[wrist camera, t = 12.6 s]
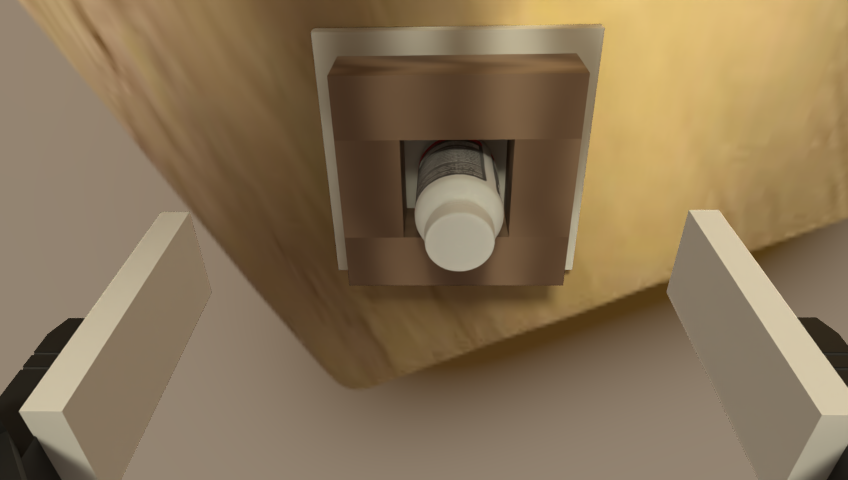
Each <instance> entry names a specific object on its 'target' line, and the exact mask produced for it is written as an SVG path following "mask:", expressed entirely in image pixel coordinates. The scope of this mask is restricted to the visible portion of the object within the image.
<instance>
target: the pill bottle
mask: <svg viewBox="0 0 848 480" xmlns="http://www.w3.org/2000/svg"><path fill="white" fill-rule="evenodd" d="M503 219H504V208H503V202H502V197H501V191H500V185H499V178H498V174H497V168H496V163H495V159H494V156H493V154H492V152H491V150H490V149H489V147H488V146H487V145H486V144H485V143H484V142H483V141H481V140H433V141H432V142H431V143H430V144H429V145H428V146H427V147H426V148H425V150H424V151H423V153H422V155H421V157H420V160H419V165H418V178H417V191H416V202H415V223H416V227H417V230H418V232H419V234H420V236H421V237H422V238H423V240H424V241H425V249H426V252H427V254H428V256H429V257H430V258H431V260H432V261H433V262H434V263H436V264H437V265H438V266H440V267H442V268H444V269H447V270H451V271H468V270H471V269H474V268H476V267H478V266H480V265H482V264H483V263H484V262H485V261H486V260H487V259H488V258H489V257H490V255H491V254H492V252H493V249H494V245H495V238H496V237H497V235H498V234H499V232H500V230H501V228H502V224H503Z"/></svg>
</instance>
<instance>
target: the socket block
mask: <svg viewBox="0 0 848 480" xmlns="http://www.w3.org/2000/svg"><path fill="white" fill-rule="evenodd" d="M604 30H605V28H604V27H603V26H602V25H601V24H579V25H511V26H442V27H374V28H314V29H313V30H312V31H311V39H312V47H313V56H314V64H315V73H316V81H317V90H318V98H319V107H320V115H321V124H322V132H323V140H324V149H325V157H326V166H327V174H328V183H329V191H330V200H331V208H332V217H333V225H334V234H335V242H336V251H337V259H338V268H339V270H348V275H349V285H563V281H564V273H565V270H572V266H573V258H574V251H575V244H576V236H577V229H578V221H579V214H580V207H581V199H582V192H583V185H584V177H585V170H586V162H587V155H588V148H589V140H590V133H591V126H592V118H593V111H594V104H595V96H596V89H597V81H598V74H599V67H600V59H601V52H602V45H603V37H604ZM433 140H481V141H483V142H484V143H485V144H486V145H487V146H488V147H489V149H490V150H491V152H492V154H493V156H494V159H495V163H496V168H497V174H498V178H499V185H500V191H501V197H502V202H503V208H504V219H503V224H502V228H501V230H500V232H499V234H498V235H497V237H496V238H495V245H494V249H493V252H492V254H491V255H490V257H489V258H488V259H487V260H486V261H485V262H484V263H483V264H482V265H480V266H478V267H476V268H474V269H471V270H468V271H451V270H447V269H444V268H442V267H440V266H438V265H437V264H436V263H434V262H433V261H432V260H431V258H430V257H429V256H428V254H427V252H426V249H425V241H424V240H423V238H422V237H421V236H420V234H419V232H418V230H417V227H416V223H415V202H416V191H417V178H418V165H419V160H420V157H421V155H422V153H423V151H424V150H425V148H426V147H427V146H428V145H429V144H430V143H431V142H432V141H433Z"/></svg>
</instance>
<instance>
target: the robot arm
mask: <svg viewBox="0 0 848 480" xmlns="http://www.w3.org/2000/svg"><path fill="white" fill-rule="evenodd" d="M211 293H212V291H211V288H210V284H209V281H208V277H207V273H206V270H205V266H204V263H203V259H202V255H201V252H200V248H199V245H198V241H197V237H196V233H195V230H194V226H193V223H192V219H191V215H190V212H161V213H160V214H159V215H158V217H157V218H156V220H155V221H154V222H153V224H152V225H151V227H150V228H149V229H148V231H147V232H146V234H145V235H144V236H143V238H142V239H141V241H140V242H139V243H138V245H137V246H136V248H135V249H134V250H133V252H132V253H131V255H130V256H129V257H128V259H127V260H126V262H125V263H124V264H123V266H122V267H121V269H120V270H119V271H118V273H117V274H116V276H115V277H114V278H113V280H112V281H111V283H110V284H109V285H108V287H107V288H106V290H105V291H104V292H103V294H102V295H101V297H100V298H99V300H98V301H97V302H96V304H95V305H94V306H93V308H92V309H91V311H90V312H89V314H88V315H87V316H86V318H68V319H67V320H66V321H64V322H63V323H62V324H60V325H59V326H58V327H56V328H55V329H54V330H52V331H51V332H50V333H49V334H47V336H46V337H45V339H44V340H43V341H42V342H41V344H40V345H39V346H38V348H37V349H36V350H35V351H34V355H32V356H31V357H30V358H29V359H28V361H27V362H26V363H25V364H24V366H23V370H20V371H19V372H18V374H17V375H16V376H15V378H14V379H13V380H12V381H11V383H10V384H9V385H8V387H7V388H6V389H5V391H4V392H3V393H2V395H1V396H0V480H121V479H122V477H123V475H124V473H125V471H126V469H127V467H128V464H129V463H130V460H131V458H132V456H133V454H134V452H135V450H136V448H137V446H138V444H139V442H140V440H141V438H142V436H143V434H144V432H145V429H146V427H147V425H148V423H149V421H150V419H151V417H152V415H153V413H154V411H155V409H156V407H157V405H158V402H159V400H160V398H161V396H162V394H163V392H164V390H165V388H166V386H167V384H168V382H169V380H170V378H171V375H172V374H173V371H174V369H175V367H176V365H177V363H178V361H179V359H180V357H181V355H182V353H183V351H184V349H185V347H186V344H187V342H188V340H189V338H190V336H191V334H192V332H193V330H194V328H195V326H196V324H197V322H198V320H199V317H200V316H201V313H202V311H203V309H204V307H205V305H206V303H207V301H208V299H209V297H210V295H211ZM667 294H668V296H669V298H670V300H671V302H672V304H673V306H674V308H675V310H676V312H677V314H678V316H679V319H680V321H681V323H682V325H683V327H684V329H685V331H686V333H687V335H688V337H689V339H690V341H691V343H692V345H693V347H694V349H695V351H696V354H697V355H698V358H699V359H700V361H701V364H702V366H703V368H704V370H705V372H706V374H707V376H708V378H709V380H710V382H711V384H712V386H713V388H714V390H715V392H716V394H717V397H718V399H719V401H720V403H721V405H722V407H723V409H724V411H725V413H726V415H727V417H728V419H729V421H730V423H731V425H732V427H733V429H734V431H735V433H736V435H737V437H738V440H739V441H740V444H741V446H742V448H743V450H744V452H745V454H746V456H747V458H748V460H749V462H750V464H751V466H752V468H753V470H754V472H755V474H756V477H757V478H758V480H848V345H847V344H846V343H845V341H844V340H843V339H842V338H841V336H840V335H839V334H838V333H837V332H835V331H834V330H833V329H831V328H830V327H829V326H827V325H826V324H824V323H823V322H822V321H820V320H819V319H818V318H797V317H796V316H795V314H794V313H793V312H792V310H791V309H790V308H789V306H788V305H787V303H786V302H785V301H784V299H783V298H782V296H781V295H780V294H779V292H778V291H777V290H776V288H775V287H774V285H773V284H772V283H771V281H770V280H769V279H768V277H767V276H766V275H765V273H764V272H763V270H762V269H761V267H760V266H759V265H758V263H757V262H756V261H755V259H754V258H753V257H752V255H751V254H750V252H749V251H748V250H747V248H746V247H745V245H744V244H743V243H742V241H741V240H740V239H739V237H738V236H737V234H736V233H735V232H734V230H733V229H732V228H731V226H730V225H729V223H728V222H727V221H726V219H725V218H724V217H723V215H722V214H721V212H720V211H719V210H689V211H688V215H687V219H686V223H685V226H684V230H683V234H682V237H681V241H680V245H679V248H678V252H677V256H676V259H675V263H674V267H673V270H672V274H671V278H670V281H669V285H668V289H667Z"/></svg>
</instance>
